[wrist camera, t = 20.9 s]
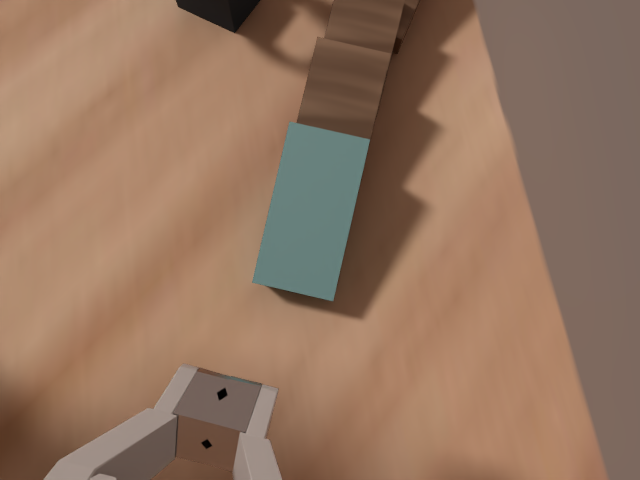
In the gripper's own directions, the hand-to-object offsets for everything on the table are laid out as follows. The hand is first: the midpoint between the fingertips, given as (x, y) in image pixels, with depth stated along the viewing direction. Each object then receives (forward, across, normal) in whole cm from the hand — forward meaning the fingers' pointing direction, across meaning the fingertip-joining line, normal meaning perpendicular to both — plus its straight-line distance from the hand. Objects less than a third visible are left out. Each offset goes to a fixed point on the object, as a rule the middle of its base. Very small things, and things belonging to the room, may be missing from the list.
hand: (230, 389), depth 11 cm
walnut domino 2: (+16, 0, -1) cm, 16 cm away
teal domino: (+11, -1, +4) cm, 12 cm away
